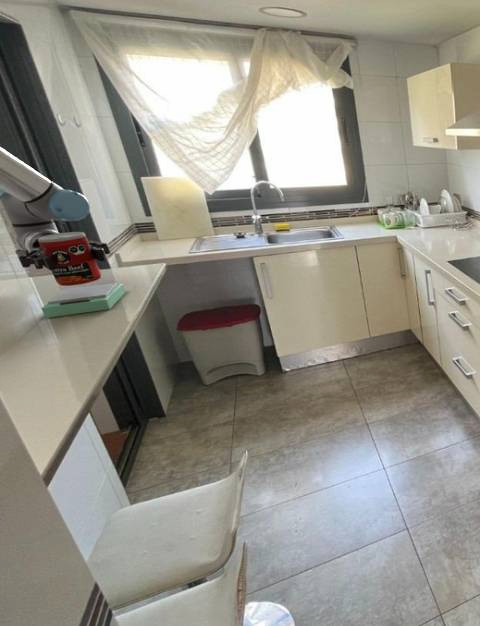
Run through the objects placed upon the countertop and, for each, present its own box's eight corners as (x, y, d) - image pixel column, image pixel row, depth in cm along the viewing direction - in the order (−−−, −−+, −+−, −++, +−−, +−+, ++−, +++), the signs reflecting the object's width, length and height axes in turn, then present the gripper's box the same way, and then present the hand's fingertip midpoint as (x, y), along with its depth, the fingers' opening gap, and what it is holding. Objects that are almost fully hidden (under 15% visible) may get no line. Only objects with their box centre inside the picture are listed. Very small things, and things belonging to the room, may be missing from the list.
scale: (45, 318, 103) (40, 305, 102) (68, 299, 114) (63, 288, 113) (109, 309, 108) (105, 297, 107) (125, 292, 119) (121, 281, 118)
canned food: (50, 288, 104) (29, 240, 100) (67, 278, 111) (48, 233, 107) (93, 283, 107) (74, 237, 103) (108, 274, 114) (90, 230, 110)
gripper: (109, 252, 126) (138, 264, 114) (-4, 270, 110) (17, 287, 98) (98, 224, 123) (128, 235, 111) (-19, 239, 107) (1, 253, 95)
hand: (76, 259), depth 104 cm, fingers closed on canned food, 8 cm apart
